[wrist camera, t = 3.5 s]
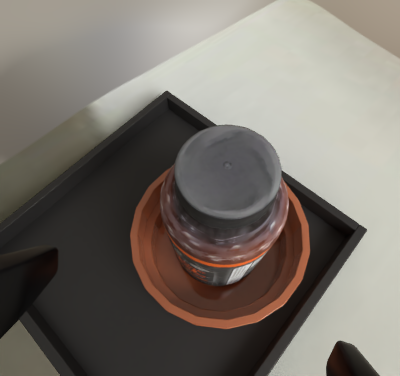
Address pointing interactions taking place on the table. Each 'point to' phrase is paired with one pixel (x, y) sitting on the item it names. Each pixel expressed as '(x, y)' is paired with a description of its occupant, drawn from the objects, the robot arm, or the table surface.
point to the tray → (127, 274)
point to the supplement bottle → (223, 203)
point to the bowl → (221, 295)
